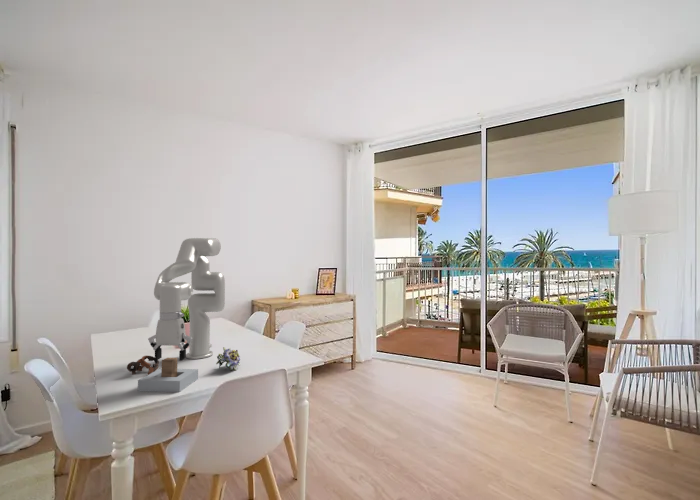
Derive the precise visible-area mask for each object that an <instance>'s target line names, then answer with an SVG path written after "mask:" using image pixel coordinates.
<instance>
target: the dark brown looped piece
mask: <svg viewBox="0 0 700 500" xmlns="http://www.w3.org/2000/svg"><path fill="white" fill-rule="evenodd" d="M146 359H147V361H148V362H147V361H146ZM151 361H152V362H154V363H153V364H152V366H151V363H150V362H151ZM159 363H160V361H159V359H158V360H155V356H152V355H144V356H141V358H139V359H138V360H136V361H131V362H129V363H128V364H127V366H126V369H127V371H128V372H129V373H131V375H136V373H137V372H142V371H143V369H144V368H145V369H148V372H147V375H149V374H151V373H153V372H155V371H157V370H158V369H159Z"/></svg>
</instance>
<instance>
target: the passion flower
mask: <svg viewBox="0 0 700 500" xmlns="http://www.w3.org/2000/svg"><path fill="white" fill-rule="evenodd" d="M222 349H223V352H222V353H218V355H217V356H216V357H217V362H216V363H215V364H216V365H218V364H219V365H218V367H219V368H218V369H219V370H220V369H221V366H222V365H223V364H224V363H225V367H226V368H228V369H229V370H230V371H237V370H238V366H241V362H240V361H241V356H240V353H239V351H238V349H231V347H230V348H226V347H222Z"/></svg>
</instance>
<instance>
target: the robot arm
mask: <svg viewBox="0 0 700 500" xmlns="http://www.w3.org/2000/svg"><path fill="white" fill-rule="evenodd" d="M220 252H221V242H220V240H219V239H218V238H213V237H211V238H209V237H207V238H204V237H202V238H201V237H200V238H199V237H196V238H195V237H194V238H193V237H191V238H186V239H184V240H183V241H182V242H181V245H180V248H179V250H178V253H177V257H176V260H175V261H174V262H173V263H171V264H170V265H169V266H168V267H166V268H165V269H164V270H162V272H160V274H159V275H158V277H157V279H156V282H155V285H154V289H153V295H154V298H155V299H156V300H157V301H159V319H158V321H157V324H156V329H155V334H154V335H152V336H150V337H148V338H147V339H148V342H149V344H150V347H152V349H153V350H154V357H155V360H158V361H159V360H160V359H162V358H163V357H162V354H163V353H162V352H163V351H162V350H163V349H162V346H164V347H165V346H166V347H167V346H173V347H174V346H176V347H177V346H178V348H179V349H180V350H179V353H178V355H179V361H180V362H182V361H183V360H185V359H189V360H196V359H197V360H199V359H206V358H209V357H212V355H213V354H214V352H213V351H212V350H211V349H210V348H212V347H213V345H212V344H211V343H210V341H211V338H210V337H211V336H210V335H211V332H210V331H211V322H210V320H211V319H210V317H209V316H208V314H206V313H218V312H219V313H220V312H222V311H223V310H224V308H225V304H226V301H225V299H226V296H225V295H226V283H225V282H226V280H225V279H226V278H225V275H224V273H222V272H219V271H210V261H209V259H208V258H207V257H215V256H217V255H219V253H220ZM190 273H191V278H190V279H191V280H190V281H191V282H190V283H191V284H190V283H189V282H185V281H184V282H183V281H180V282H179V281H177V282H176V281H175V282H172V280H174V279H176V278H178V277H179V278H180V277H182V276H185V275H187V274H190ZM194 291H197V292H198V291H200V292H202V291H207V293H205V292H202V293H194ZM210 291H211V292H210ZM208 292H210V293H208ZM213 292H214V293H213ZM182 301H187V306H188V314H189V315H188V316H189V335H188V334H187V333H186V325H185V321H184V318H182V317H184V316H185V313H183V312H182ZM185 342H186V343H185ZM188 348H189V352H187V349H188Z"/></svg>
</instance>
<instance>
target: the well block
mask: <svg viewBox="0 0 700 500" xmlns="http://www.w3.org/2000/svg"><path fill="white" fill-rule="evenodd" d="M161 374H162V368H158V369H157V370H156V371H154V372H153V373H151V374H149V375H148V374H147V375H145V376H144V377H141V378H140V379H137V392H160V393H161V392H164V393H165V392H166V393H168V392H170V393H173V392H175V393H177V392H178V393H180V392H182V391H183V390H185V389H186V388H187V387H188V386H190V385H192V384H193V383H195V382H196V381H197V380H199V369H198V368H177V377H161Z"/></svg>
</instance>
